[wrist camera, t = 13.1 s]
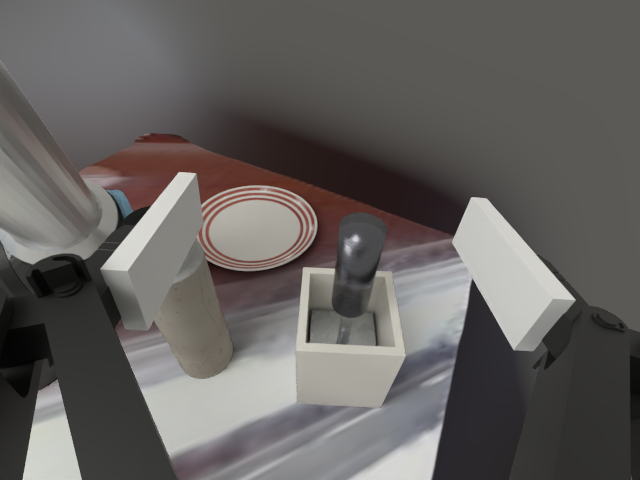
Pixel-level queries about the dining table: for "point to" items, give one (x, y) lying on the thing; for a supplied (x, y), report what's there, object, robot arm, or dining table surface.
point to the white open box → (347, 348)
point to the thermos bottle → (193, 315)
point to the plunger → (352, 284)
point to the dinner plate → (256, 228)
